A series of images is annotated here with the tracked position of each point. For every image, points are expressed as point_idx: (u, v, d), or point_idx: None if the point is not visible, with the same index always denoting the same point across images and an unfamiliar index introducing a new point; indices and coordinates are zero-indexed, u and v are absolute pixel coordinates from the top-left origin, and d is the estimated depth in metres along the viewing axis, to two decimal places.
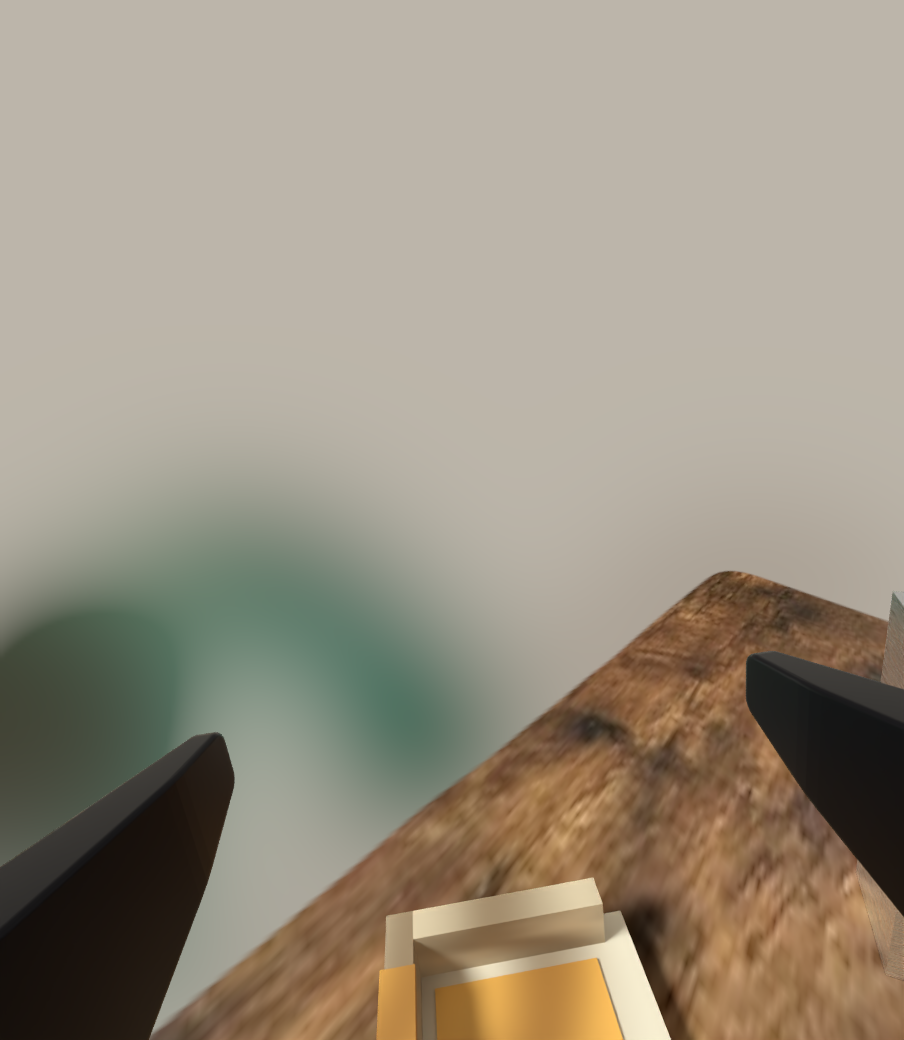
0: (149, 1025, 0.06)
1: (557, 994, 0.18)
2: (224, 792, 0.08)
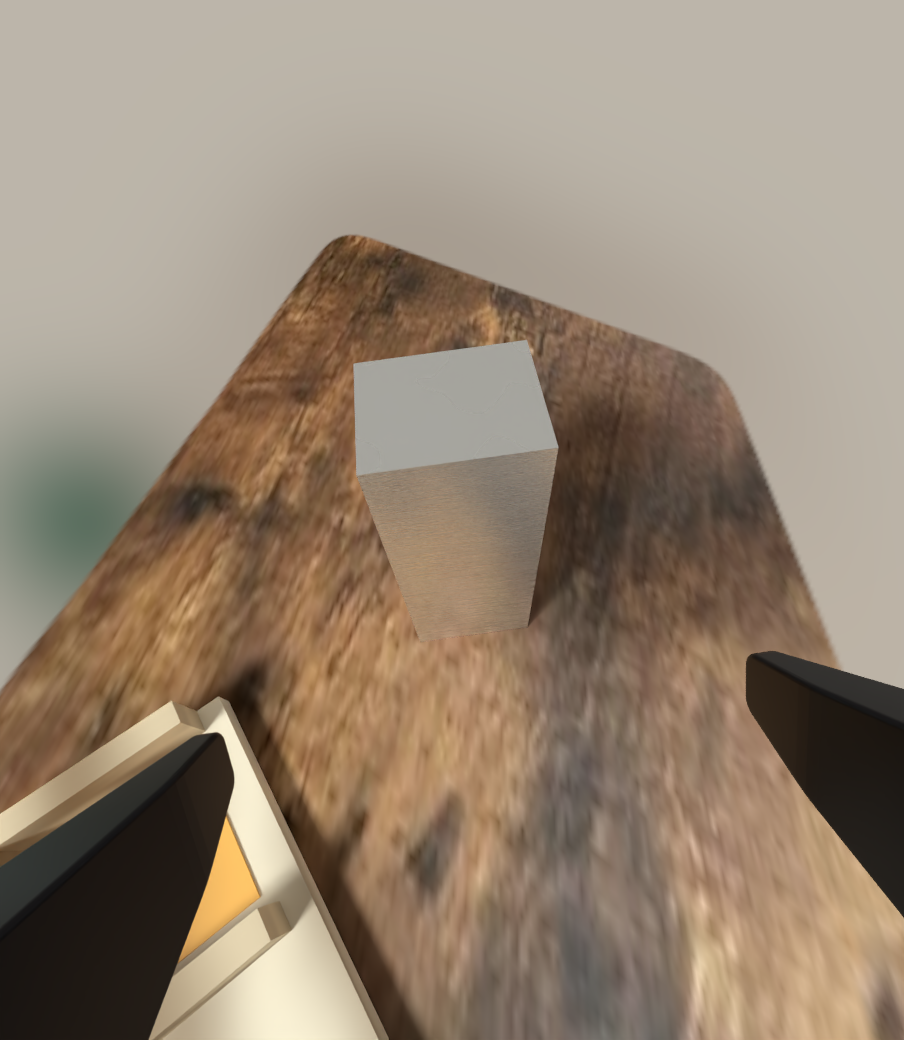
0: (149, 1025, 0.06)
1: None
2: (224, 792, 0.08)
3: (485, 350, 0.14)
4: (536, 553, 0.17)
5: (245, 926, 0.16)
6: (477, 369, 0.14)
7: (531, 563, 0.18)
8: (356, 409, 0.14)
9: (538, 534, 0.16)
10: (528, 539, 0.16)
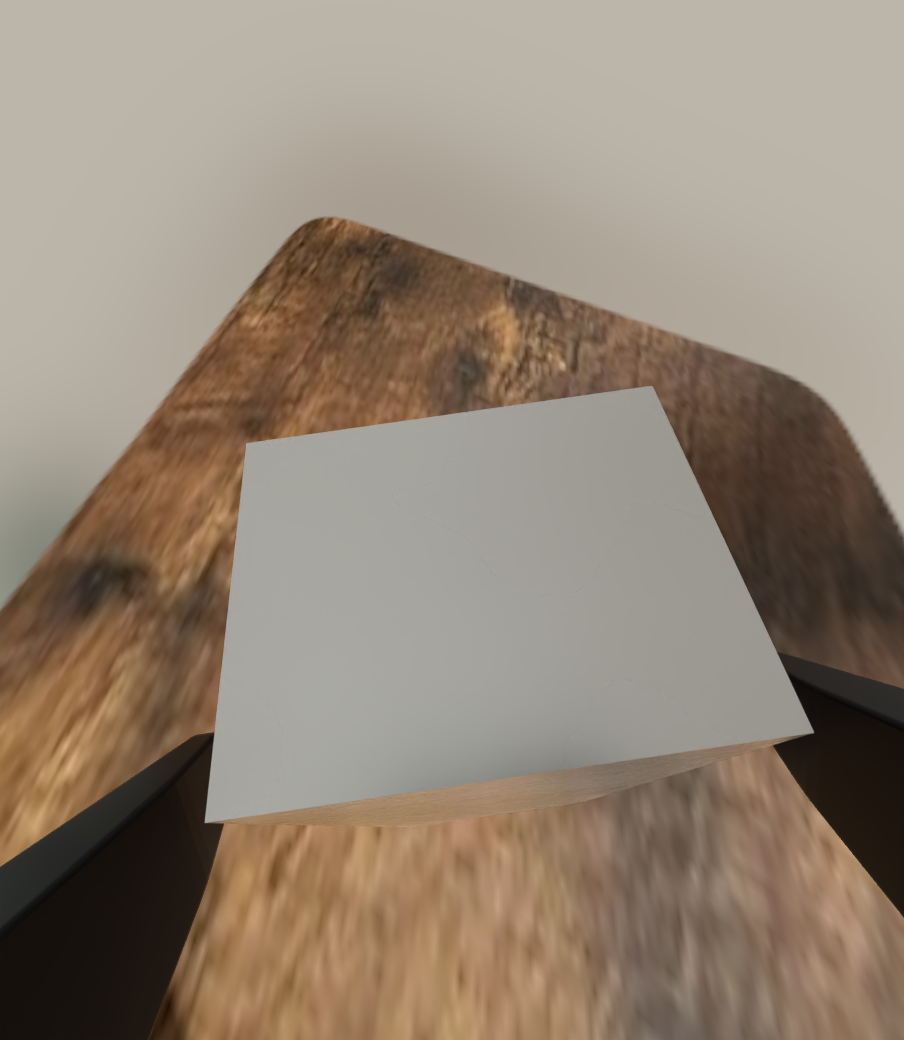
0: (150, 1024, 0.06)
1: None
2: None
3: (557, 411, 0.06)
4: (635, 785, 0.09)
5: None
6: (542, 462, 0.06)
7: (619, 789, 0.10)
8: (235, 576, 0.05)
9: (653, 779, 0.08)
10: (630, 783, 0.08)
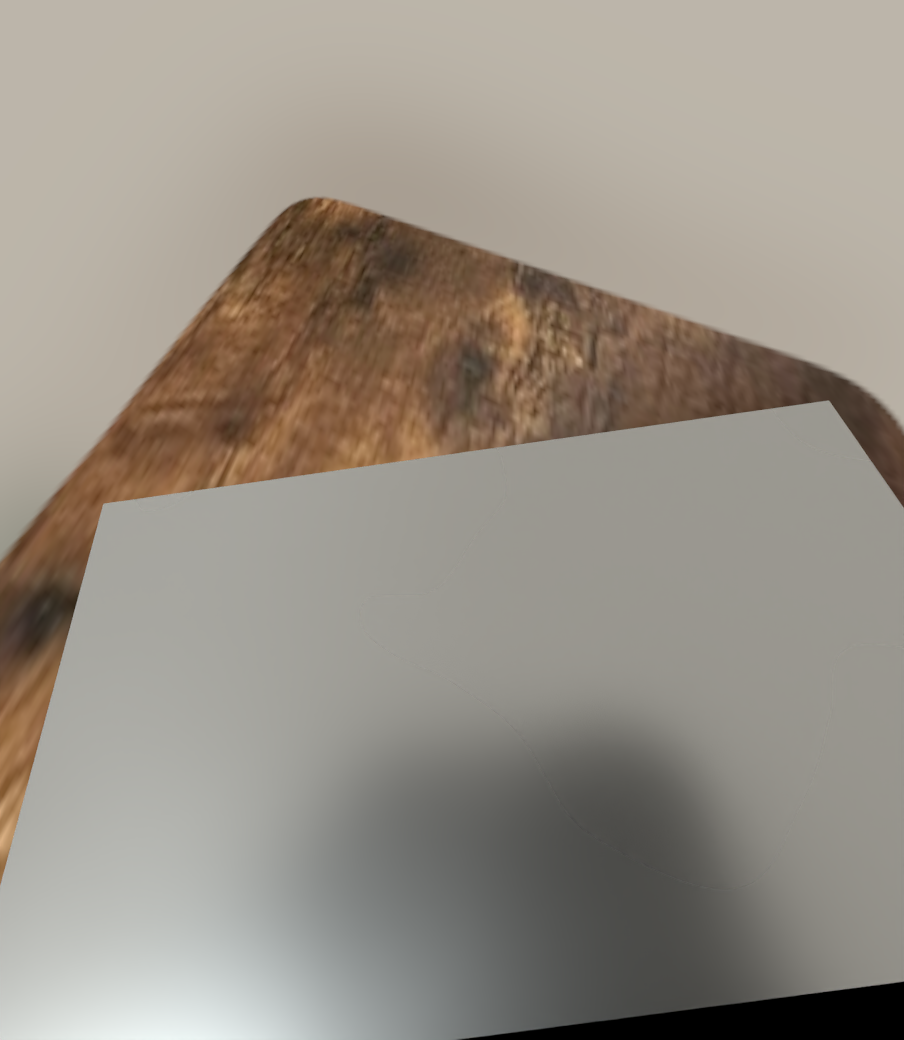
0: None
1: None
2: None
3: (662, 448, 0.03)
4: None
5: None
6: (647, 549, 0.03)
7: None
8: (29, 806, 0.03)
9: None
10: None
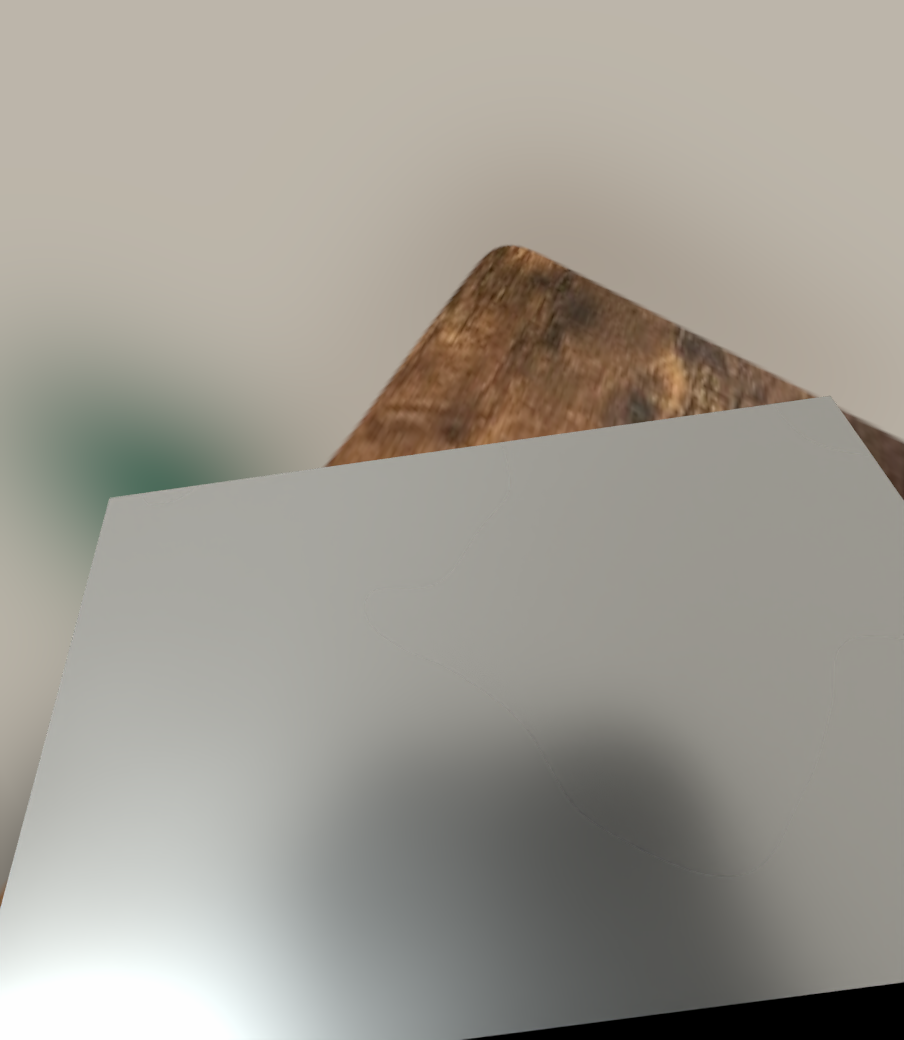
0: None
1: None
2: None
3: (665, 442, 0.03)
4: None
5: None
6: (650, 543, 0.03)
7: None
8: (38, 794, 0.03)
9: None
10: None
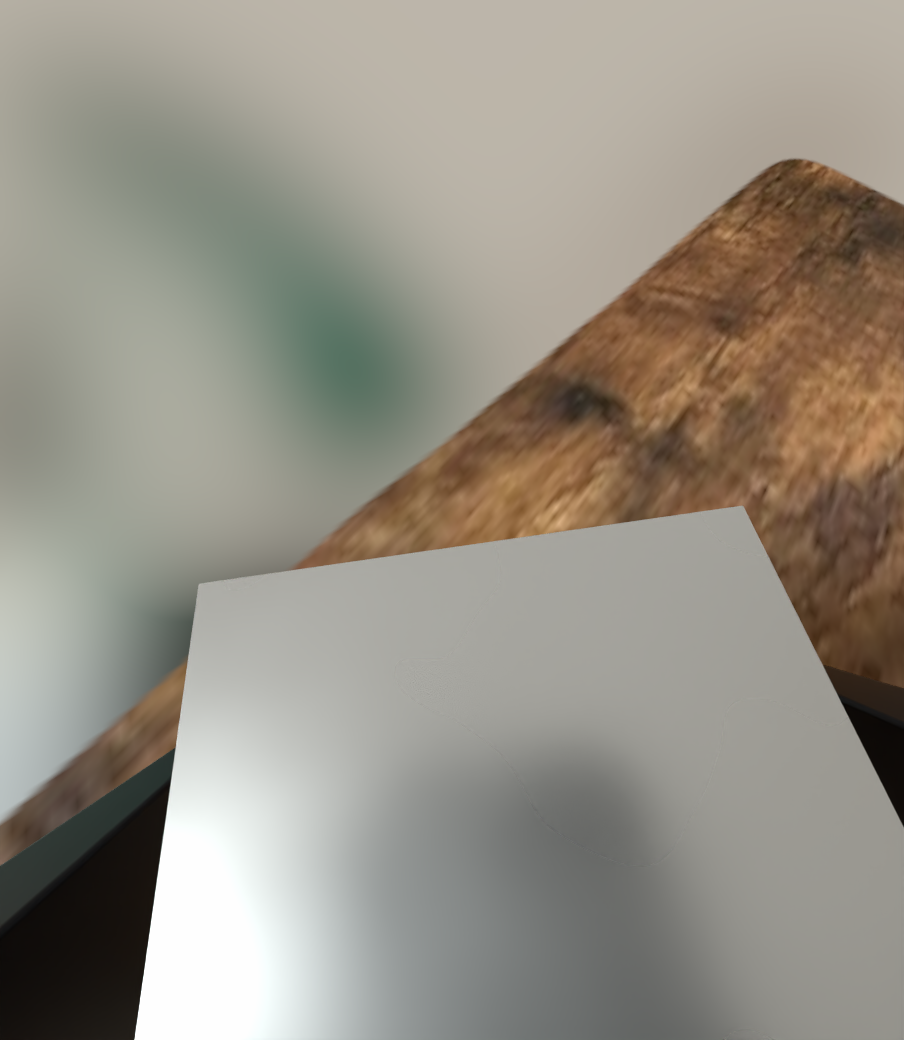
0: None
1: None
2: None
3: (616, 543, 0.05)
4: None
5: None
6: (602, 626, 0.04)
7: None
8: (172, 811, 0.04)
9: None
10: None
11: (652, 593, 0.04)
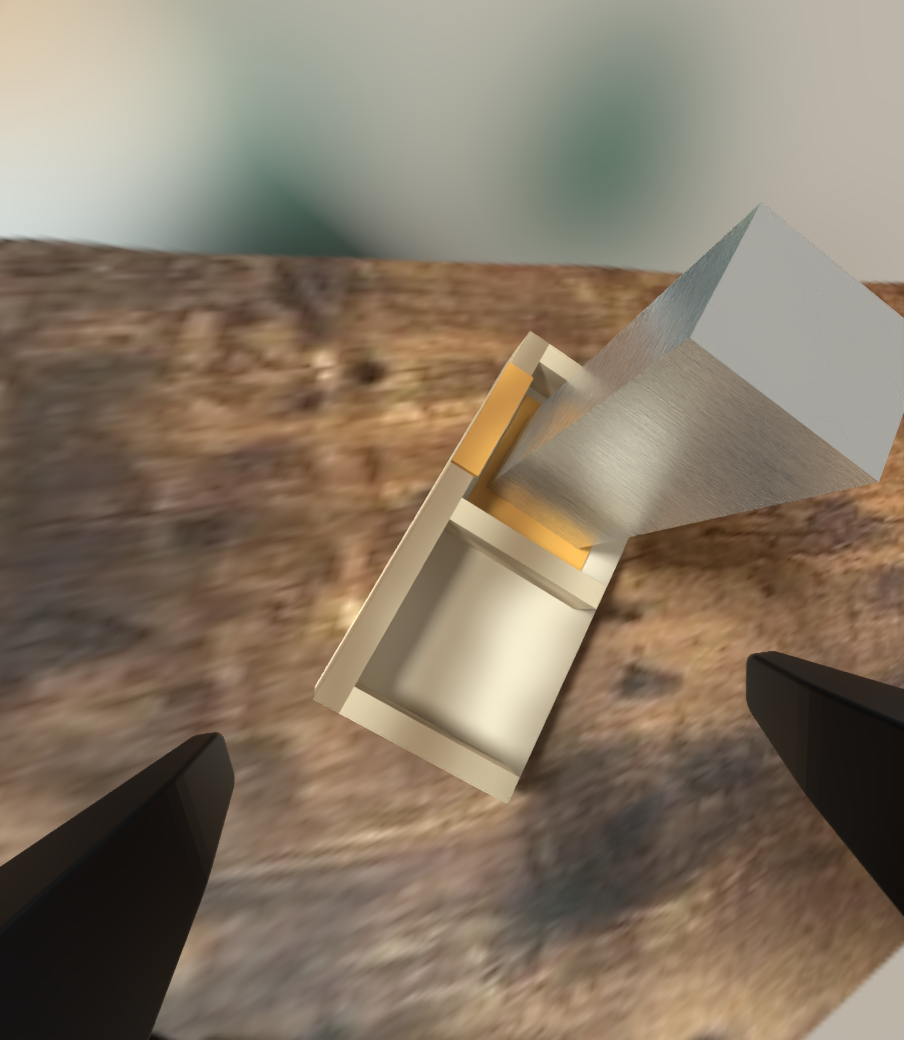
0: (149, 1025, 0.06)
1: None
2: (224, 792, 0.08)
3: (887, 313, 0.11)
4: (687, 521, 0.16)
5: (593, 585, 0.21)
6: (867, 328, 0.11)
7: (669, 522, 0.16)
8: (732, 261, 0.10)
9: (718, 513, 0.15)
10: (704, 508, 0.15)
11: (886, 334, 0.11)
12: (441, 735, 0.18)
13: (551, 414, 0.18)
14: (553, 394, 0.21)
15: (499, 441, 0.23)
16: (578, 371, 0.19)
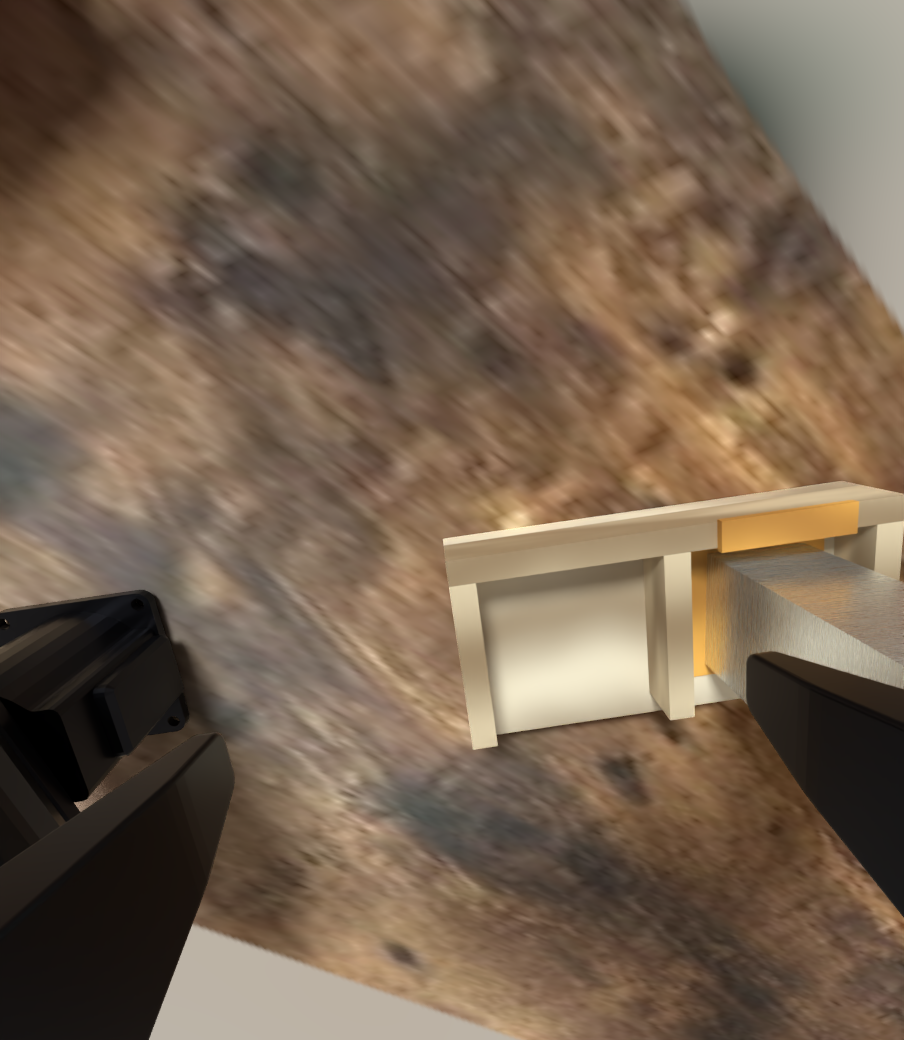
0: (149, 1025, 0.06)
1: None
2: (224, 792, 0.08)
3: None
4: None
5: (689, 705, 0.20)
6: None
7: None
8: None
9: None
10: None
11: None
12: (487, 671, 0.20)
13: (843, 590, 0.16)
14: (855, 564, 0.18)
15: None
16: None
